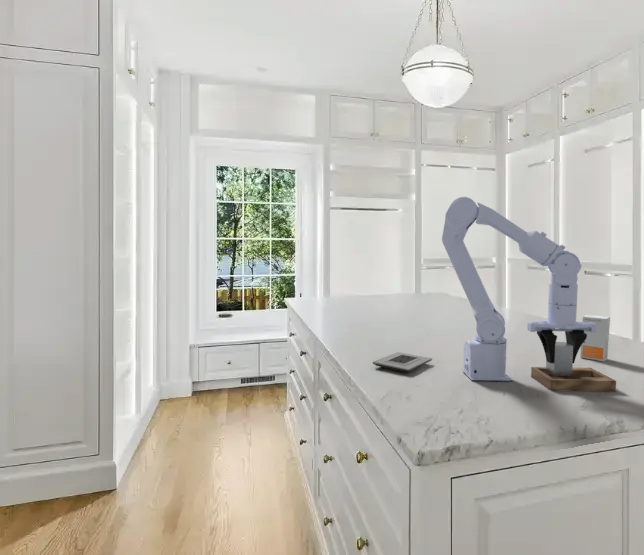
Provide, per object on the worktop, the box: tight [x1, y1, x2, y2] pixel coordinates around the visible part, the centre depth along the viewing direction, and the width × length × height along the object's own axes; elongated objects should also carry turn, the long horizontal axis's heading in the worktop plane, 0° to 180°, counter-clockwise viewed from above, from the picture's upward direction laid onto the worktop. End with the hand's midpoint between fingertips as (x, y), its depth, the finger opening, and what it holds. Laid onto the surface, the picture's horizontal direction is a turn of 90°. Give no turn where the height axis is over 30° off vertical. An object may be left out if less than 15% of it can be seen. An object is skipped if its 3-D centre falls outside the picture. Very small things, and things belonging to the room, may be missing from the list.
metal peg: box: [545, 341, 574, 376], centre depth 101 cm, size 4×4×7 cm
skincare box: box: [579, 314, 611, 363], centre depth 122 cm, size 6×4×12 cm
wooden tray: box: [530, 366, 617, 392], centre depth 101 cm, size 14×10×2 cm
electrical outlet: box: [372, 351, 433, 373], centre depth 116 cm, size 13×10×2 cm
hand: (560, 362), depth 101 cm, fingers closed on metal peg, 4 cm apart
